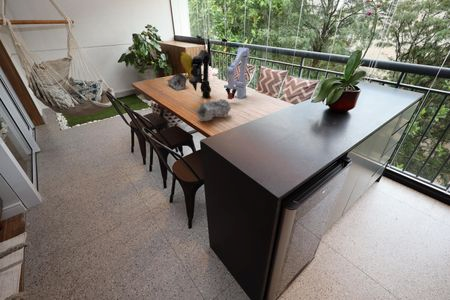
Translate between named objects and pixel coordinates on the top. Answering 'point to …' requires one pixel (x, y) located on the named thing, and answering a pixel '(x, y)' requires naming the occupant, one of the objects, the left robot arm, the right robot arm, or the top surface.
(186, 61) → the sculpture
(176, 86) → the gray rock
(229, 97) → the brick
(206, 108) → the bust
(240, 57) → the right robot arm
